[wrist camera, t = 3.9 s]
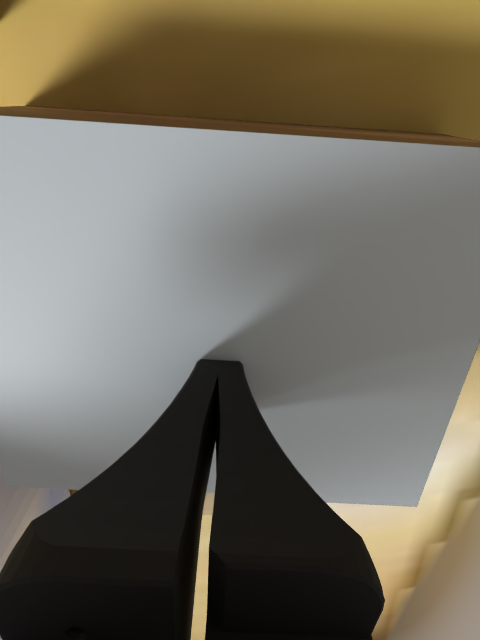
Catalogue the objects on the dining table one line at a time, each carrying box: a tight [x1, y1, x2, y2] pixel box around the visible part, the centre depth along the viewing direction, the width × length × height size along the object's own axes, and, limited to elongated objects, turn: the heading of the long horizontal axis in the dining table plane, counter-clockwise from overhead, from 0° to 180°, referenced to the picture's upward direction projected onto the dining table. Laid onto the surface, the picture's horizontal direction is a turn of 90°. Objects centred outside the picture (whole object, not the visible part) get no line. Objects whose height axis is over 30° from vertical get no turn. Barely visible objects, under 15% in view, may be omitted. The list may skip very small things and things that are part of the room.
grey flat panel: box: [0, 115, 480, 515], centre depth 12 cm, size 13×15×1 cm
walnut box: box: [0, 106, 480, 147], centre depth 15 cm, size 12×15×5 cm
